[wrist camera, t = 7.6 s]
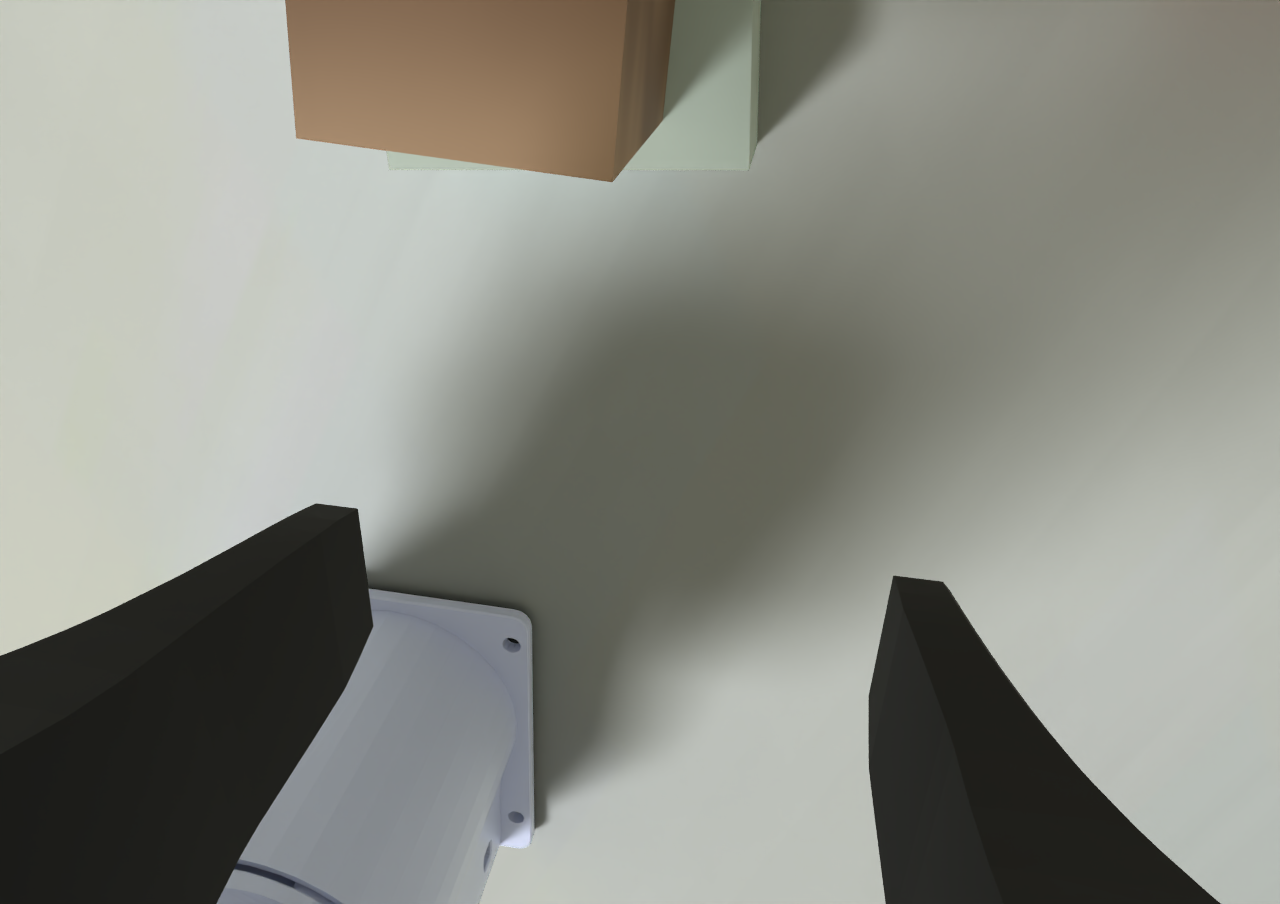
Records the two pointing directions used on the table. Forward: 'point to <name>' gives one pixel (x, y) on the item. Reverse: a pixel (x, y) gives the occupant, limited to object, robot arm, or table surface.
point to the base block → (688, 95)
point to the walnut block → (484, 79)
